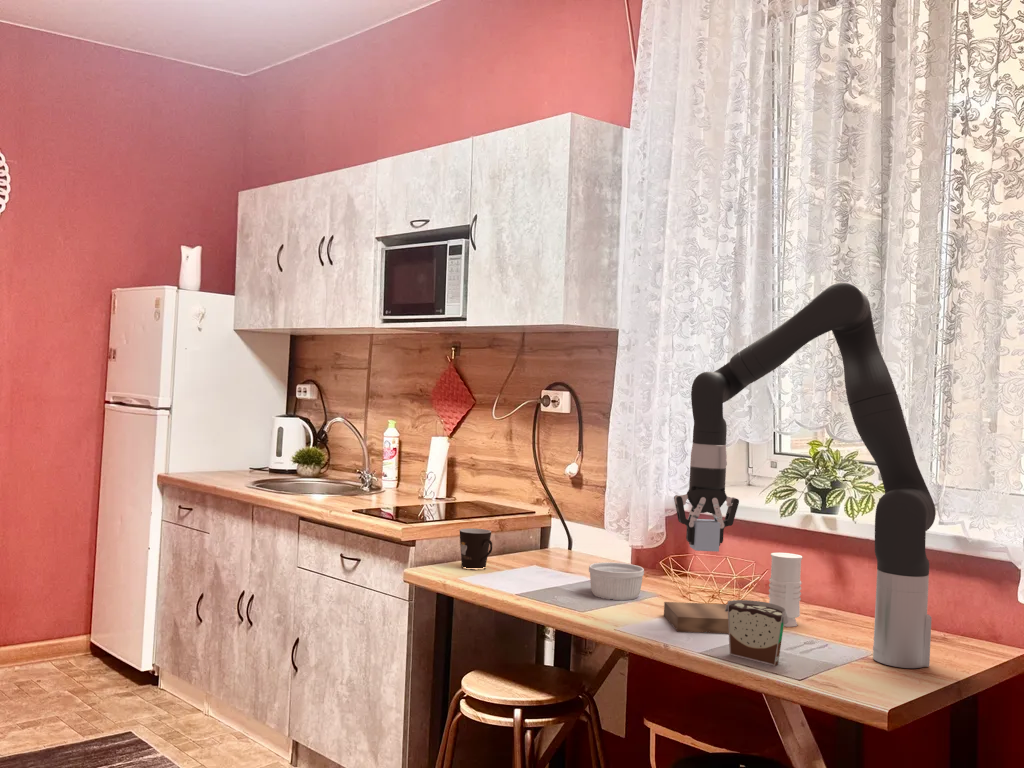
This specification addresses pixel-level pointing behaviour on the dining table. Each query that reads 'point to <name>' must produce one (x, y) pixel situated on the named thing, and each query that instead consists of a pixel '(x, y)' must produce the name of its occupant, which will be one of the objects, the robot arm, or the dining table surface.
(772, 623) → the food container
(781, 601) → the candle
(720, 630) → the walnut plinth
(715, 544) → the gray block
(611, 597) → the ramekin
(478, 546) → the coffee mug
